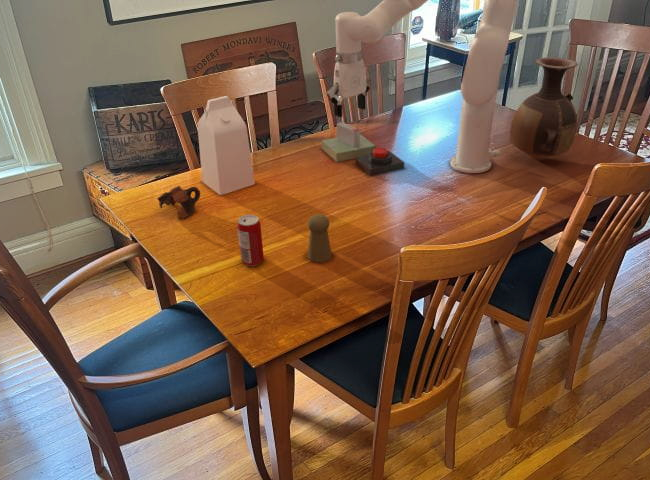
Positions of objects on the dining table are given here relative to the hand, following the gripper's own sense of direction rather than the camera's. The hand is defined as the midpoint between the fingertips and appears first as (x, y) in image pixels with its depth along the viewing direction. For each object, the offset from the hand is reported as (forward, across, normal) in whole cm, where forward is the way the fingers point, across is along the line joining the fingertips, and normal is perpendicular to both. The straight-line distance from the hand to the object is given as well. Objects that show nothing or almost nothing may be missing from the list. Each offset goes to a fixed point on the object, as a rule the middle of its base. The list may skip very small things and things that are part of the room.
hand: (350, 112), depth 198 cm
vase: (+15, +42, -44) cm, 62 cm away
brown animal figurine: (+13, -63, +1) cm, 64 cm away
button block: (+14, 0, -15) cm, 20 cm away
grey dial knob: (+10, 0, +1) cm, 10 cm away
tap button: (+10, 0, -15) cm, 18 cm away
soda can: (+14, -62, -35) cm, 72 cm away
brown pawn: (+14, -48, -44) cm, 66 cm away
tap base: (+13, 0, +1) cm, 13 cm away
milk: (+13, -43, +7) cm, 46 cm away
